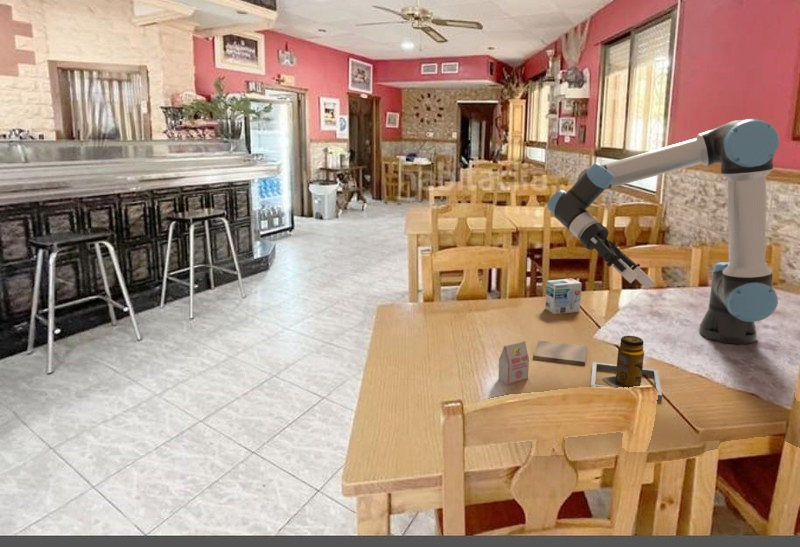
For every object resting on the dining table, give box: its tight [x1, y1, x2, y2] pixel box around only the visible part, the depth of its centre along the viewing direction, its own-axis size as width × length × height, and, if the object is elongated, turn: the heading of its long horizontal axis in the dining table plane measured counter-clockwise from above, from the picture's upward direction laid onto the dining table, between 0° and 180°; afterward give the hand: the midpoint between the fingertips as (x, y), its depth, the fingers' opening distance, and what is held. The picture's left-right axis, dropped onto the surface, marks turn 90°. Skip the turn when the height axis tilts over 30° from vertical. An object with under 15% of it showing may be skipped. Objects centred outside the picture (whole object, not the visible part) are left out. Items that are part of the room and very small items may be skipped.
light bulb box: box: [544, 278, 583, 315], centre depth 192 cm, size 11×7×11 cm, turn 104°
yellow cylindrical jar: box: [601, 335, 646, 388], centre depth 136 cm, size 7×8×12 cm
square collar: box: [590, 361, 663, 402], centre depth 137 cm, size 16×15×2 cm
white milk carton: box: [498, 340, 530, 386], centre depth 139 cm, size 4×7×10 cm, turn 118°
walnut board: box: [532, 340, 588, 366], centre depth 156 cm, size 14×12×1 cm
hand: (643, 283), depth 142 cm, fingers open, 13 cm apart
